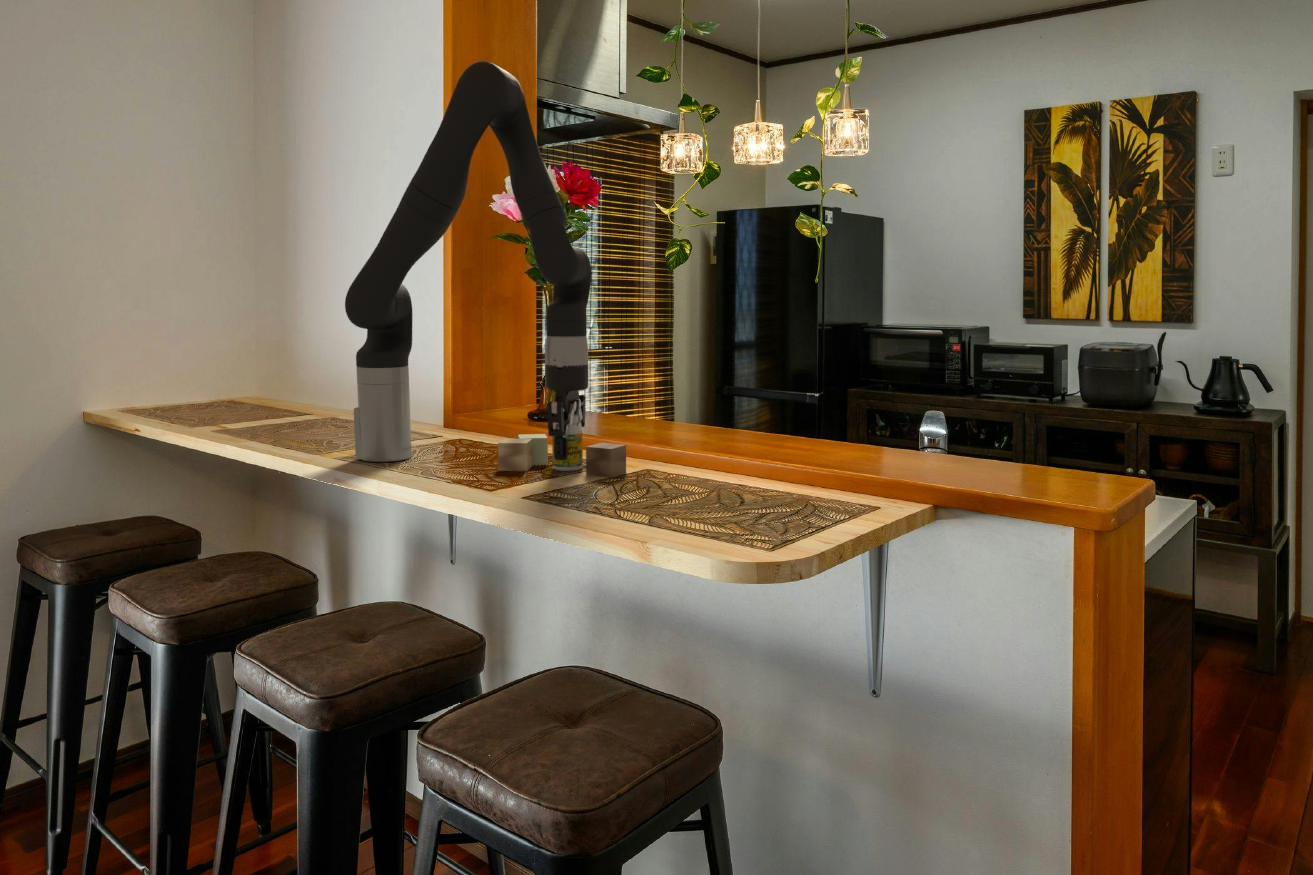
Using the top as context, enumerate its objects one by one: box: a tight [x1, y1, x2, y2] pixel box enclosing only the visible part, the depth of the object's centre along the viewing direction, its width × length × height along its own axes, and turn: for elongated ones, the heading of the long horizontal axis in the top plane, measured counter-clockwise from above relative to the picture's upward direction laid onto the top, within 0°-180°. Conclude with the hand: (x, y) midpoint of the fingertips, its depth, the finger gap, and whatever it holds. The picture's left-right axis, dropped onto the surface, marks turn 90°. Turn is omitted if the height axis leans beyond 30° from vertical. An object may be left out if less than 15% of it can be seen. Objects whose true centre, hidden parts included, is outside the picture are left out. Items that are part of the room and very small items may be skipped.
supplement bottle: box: [551, 414, 584, 472], centre depth 159 cm, size 5×5×10 cm
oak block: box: [497, 438, 533, 472], centre depth 160 cm, size 5×5×5 cm
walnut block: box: [585, 442, 627, 479], centre depth 155 cm, size 5×5×5 cm
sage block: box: [517, 433, 549, 466], centre depth 165 cm, size 5×5×5 cm
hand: (567, 456), depth 160 cm, fingers open, 6 cm apart
